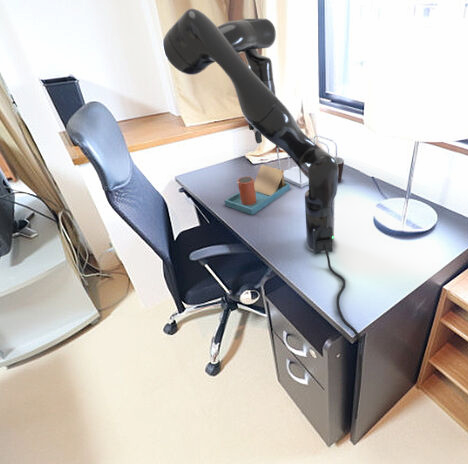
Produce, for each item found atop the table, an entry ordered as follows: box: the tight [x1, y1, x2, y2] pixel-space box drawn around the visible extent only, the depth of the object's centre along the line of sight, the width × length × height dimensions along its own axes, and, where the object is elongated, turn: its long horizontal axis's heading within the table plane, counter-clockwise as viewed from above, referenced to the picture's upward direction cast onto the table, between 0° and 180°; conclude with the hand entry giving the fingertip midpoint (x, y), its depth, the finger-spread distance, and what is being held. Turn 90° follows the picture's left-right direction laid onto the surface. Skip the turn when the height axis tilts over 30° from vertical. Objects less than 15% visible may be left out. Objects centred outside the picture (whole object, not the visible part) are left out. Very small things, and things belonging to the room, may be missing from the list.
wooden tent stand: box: [254, 164, 285, 196], centre depth 139 cm, size 10×12×9 cm
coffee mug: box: [332, 156, 345, 184], centre depth 147 cm, size 12×9×10 cm
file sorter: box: [276, 134, 338, 188], centre depth 151 cm, size 25×17×16 cm
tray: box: [224, 181, 291, 216], centre depth 137 cm, size 26×15×3 cm, turn 148°
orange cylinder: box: [236, 176, 257, 206], centre depth 130 cm, size 12×6×12 cm
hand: (269, 144), depth 110 cm, fingers open, 8 cm apart
